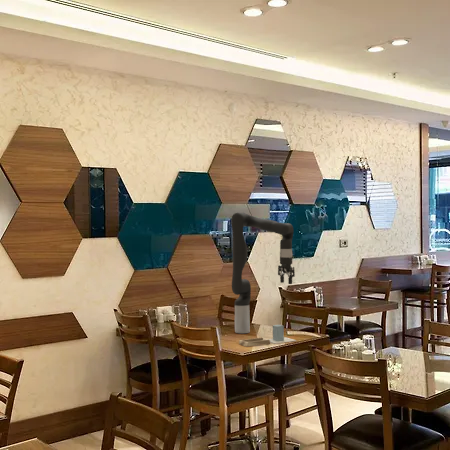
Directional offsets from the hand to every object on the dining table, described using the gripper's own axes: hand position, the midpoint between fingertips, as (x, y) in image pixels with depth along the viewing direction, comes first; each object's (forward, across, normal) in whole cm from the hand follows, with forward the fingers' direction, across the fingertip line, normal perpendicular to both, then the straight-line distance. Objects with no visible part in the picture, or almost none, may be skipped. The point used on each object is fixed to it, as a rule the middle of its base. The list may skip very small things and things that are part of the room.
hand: (286, 283), depth 350 cm
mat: (+32, +9, -11) cm, 35 cm away
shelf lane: (+32, +9, -28) cm, 43 cm away
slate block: (+31, +9, -12) cm, 35 cm away
